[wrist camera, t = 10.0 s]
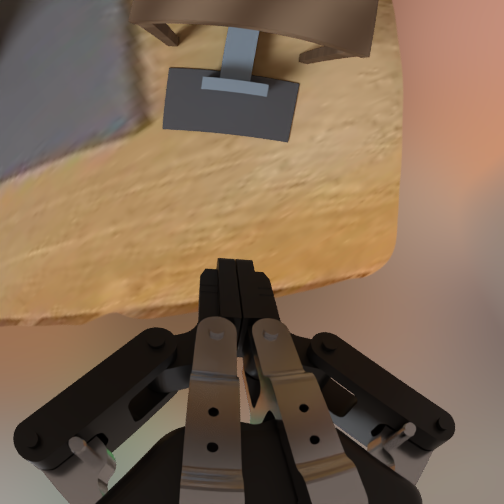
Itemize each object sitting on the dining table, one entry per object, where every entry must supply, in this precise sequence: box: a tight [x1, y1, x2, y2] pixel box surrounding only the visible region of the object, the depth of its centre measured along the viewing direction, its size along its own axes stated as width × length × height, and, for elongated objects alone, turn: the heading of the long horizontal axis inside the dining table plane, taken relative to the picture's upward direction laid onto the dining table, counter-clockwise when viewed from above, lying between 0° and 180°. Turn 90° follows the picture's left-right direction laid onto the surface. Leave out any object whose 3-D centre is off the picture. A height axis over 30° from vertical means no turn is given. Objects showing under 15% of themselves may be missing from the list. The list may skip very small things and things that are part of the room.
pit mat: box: [163, 68, 299, 142], centre depth 28 cm, size 14×7×1 cm, turn 81°
